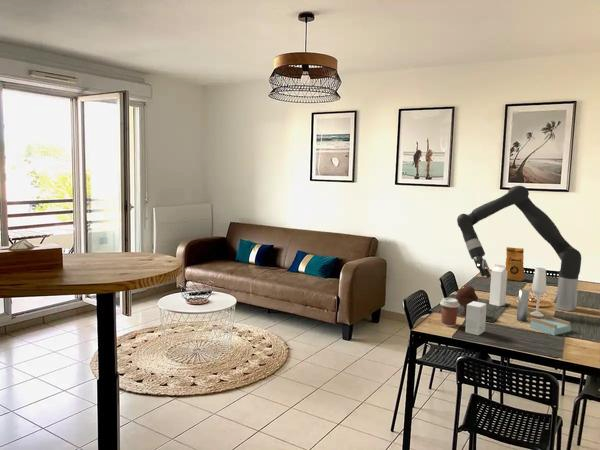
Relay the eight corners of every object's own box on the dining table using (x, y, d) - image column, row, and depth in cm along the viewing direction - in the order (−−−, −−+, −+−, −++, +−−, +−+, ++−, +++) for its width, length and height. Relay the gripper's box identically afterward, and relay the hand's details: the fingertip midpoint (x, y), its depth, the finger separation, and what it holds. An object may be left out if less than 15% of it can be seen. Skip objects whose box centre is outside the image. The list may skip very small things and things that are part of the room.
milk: (499, 306, 262) (501, 266, 259) (488, 303, 267) (491, 264, 264) (505, 304, 266) (508, 265, 263) (495, 302, 270) (497, 263, 268)
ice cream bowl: (476, 312, 249) (478, 284, 248) (476, 318, 239) (478, 289, 237) (454, 310, 253) (456, 282, 251) (454, 316, 242) (456, 286, 241)
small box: (471, 328, 225) (473, 300, 223) (485, 331, 221) (487, 303, 219) (464, 332, 218) (466, 304, 217) (478, 335, 214) (480, 307, 213)
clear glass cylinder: (520, 318, 241) (522, 289, 239) (528, 321, 237) (531, 291, 235) (514, 319, 239) (516, 289, 237) (522, 322, 235) (525, 292, 233)
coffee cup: (455, 328, 223) (457, 303, 222) (436, 325, 228) (437, 300, 227) (460, 323, 231) (462, 299, 229) (441, 320, 236) (443, 296, 234)
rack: (546, 323, 233) (547, 314, 233) (570, 331, 223) (571, 322, 222) (530, 327, 227) (530, 318, 227) (554, 335, 217) (554, 325, 216)
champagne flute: (538, 317, 244) (542, 270, 241) (526, 313, 250) (530, 267, 247) (547, 315, 247) (550, 269, 244) (535, 311, 253) (539, 266, 250)
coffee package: (523, 282, 321) (525, 249, 318) (502, 280, 327) (505, 247, 324) (524, 279, 329) (526, 247, 327) (504, 277, 335) (506, 245, 333)
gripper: (477, 244, 253) (489, 272, 247) (485, 247, 264) (497, 275, 258) (464, 249, 257) (475, 278, 250) (472, 253, 268) (484, 280, 261)
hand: (486, 276), depth 254 cm, fingers open, 8 cm apart
